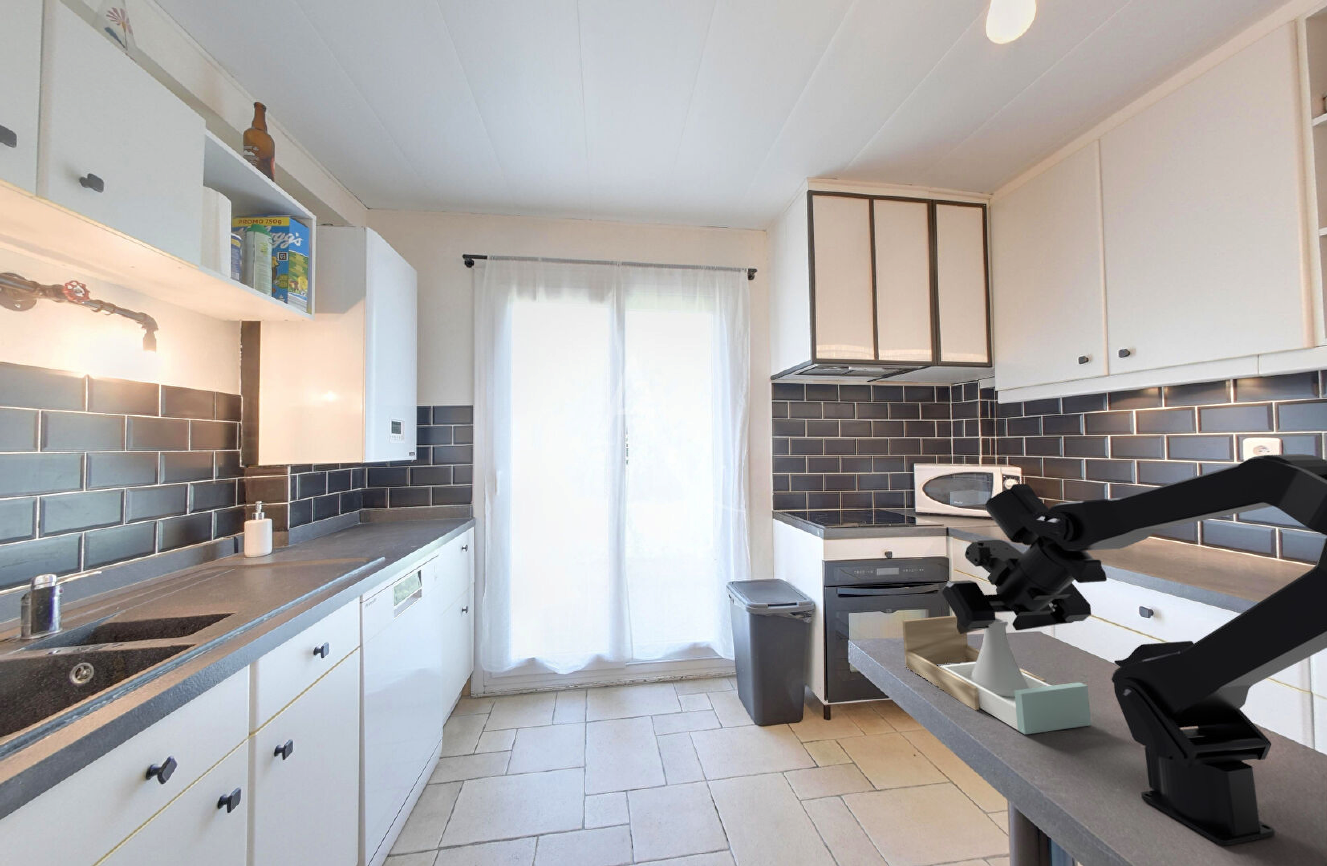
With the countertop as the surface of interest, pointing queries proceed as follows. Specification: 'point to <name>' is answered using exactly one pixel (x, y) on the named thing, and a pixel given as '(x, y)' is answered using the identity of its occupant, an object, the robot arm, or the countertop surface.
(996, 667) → the flask
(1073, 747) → the countertop surface
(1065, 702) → the tray
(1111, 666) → the countertop surface
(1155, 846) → the countertop surface
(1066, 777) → the countertop surface
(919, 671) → the dock
